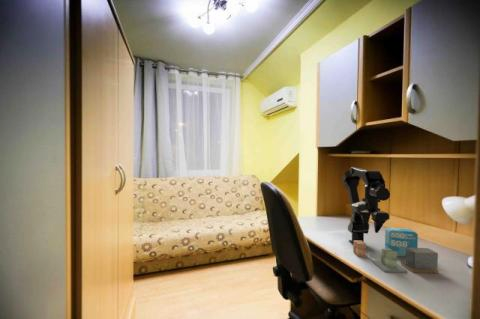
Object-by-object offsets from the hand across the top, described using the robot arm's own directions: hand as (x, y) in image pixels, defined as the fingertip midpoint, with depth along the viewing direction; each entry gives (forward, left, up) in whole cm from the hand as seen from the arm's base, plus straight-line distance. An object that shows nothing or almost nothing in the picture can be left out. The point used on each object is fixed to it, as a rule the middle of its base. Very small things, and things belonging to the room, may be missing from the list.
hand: (370, 229), depth 107 cm
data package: (-1, +15, -12) cm, 19 cm away
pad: (+12, +1, -12) cm, 17 cm away
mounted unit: (+13, +13, -12) cm, 22 cm away
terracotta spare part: (0, -5, -12) cm, 13 cm away
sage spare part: (+12, +1, -11) cm, 16 cm away
